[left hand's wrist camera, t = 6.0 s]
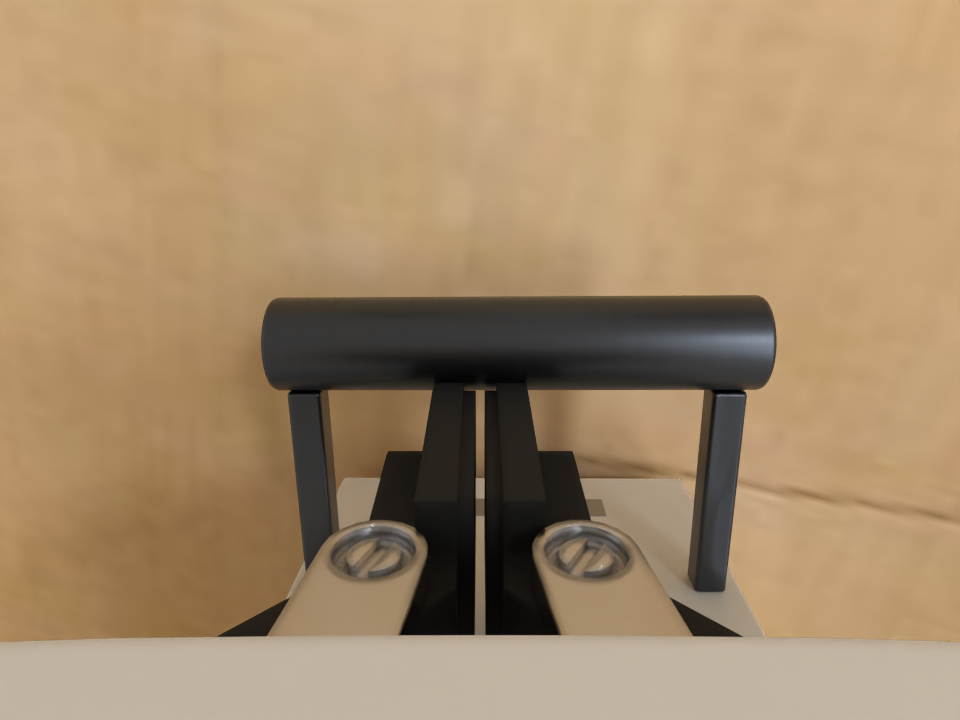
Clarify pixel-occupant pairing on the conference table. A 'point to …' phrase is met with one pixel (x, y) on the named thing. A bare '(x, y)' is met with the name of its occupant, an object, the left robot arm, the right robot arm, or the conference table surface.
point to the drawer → (542, 366)
